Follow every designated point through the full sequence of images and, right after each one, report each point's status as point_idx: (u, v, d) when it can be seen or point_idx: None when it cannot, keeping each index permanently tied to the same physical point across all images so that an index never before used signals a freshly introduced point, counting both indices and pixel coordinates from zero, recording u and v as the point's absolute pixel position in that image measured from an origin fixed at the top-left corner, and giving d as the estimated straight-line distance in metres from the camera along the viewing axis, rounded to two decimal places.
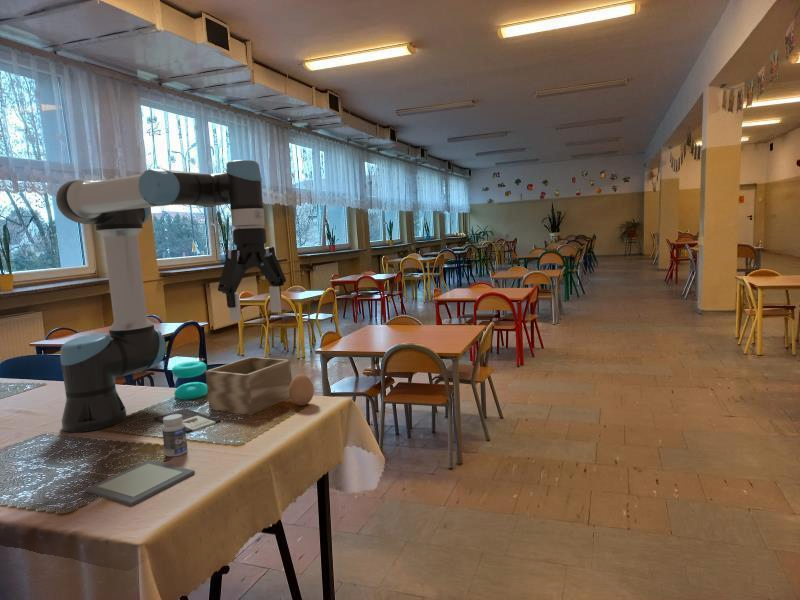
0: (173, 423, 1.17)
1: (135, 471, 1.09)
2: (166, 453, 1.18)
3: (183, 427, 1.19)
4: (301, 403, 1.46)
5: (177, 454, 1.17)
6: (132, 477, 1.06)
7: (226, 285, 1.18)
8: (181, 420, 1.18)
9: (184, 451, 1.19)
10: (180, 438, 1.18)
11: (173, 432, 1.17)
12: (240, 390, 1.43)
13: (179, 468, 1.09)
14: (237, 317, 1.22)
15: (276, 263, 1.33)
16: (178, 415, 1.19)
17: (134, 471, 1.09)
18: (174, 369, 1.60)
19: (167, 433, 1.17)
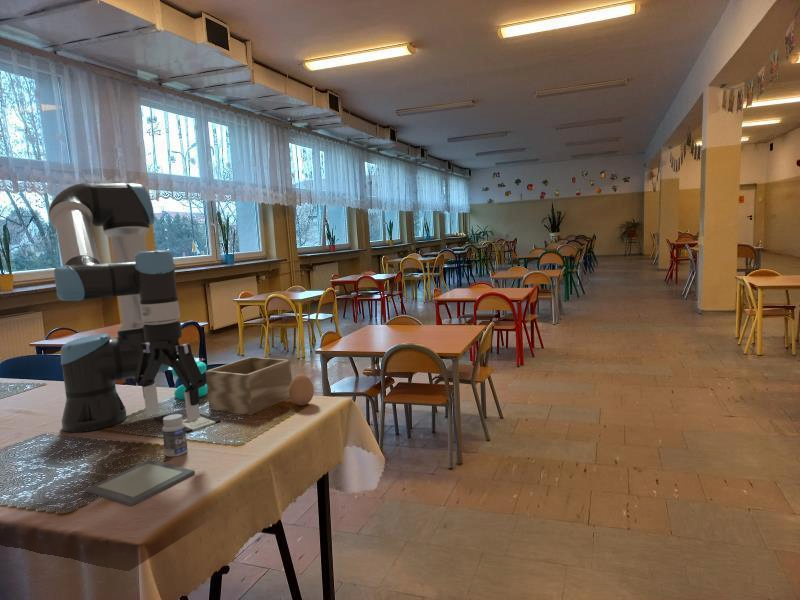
0: (173, 423, 1.17)
1: (135, 471, 1.09)
2: (166, 453, 1.18)
3: (183, 427, 1.19)
4: (301, 403, 1.46)
5: (177, 454, 1.17)
6: (132, 477, 1.06)
7: (135, 377, 1.21)
8: (181, 420, 1.18)
9: (184, 451, 1.19)
10: (180, 438, 1.18)
11: (173, 432, 1.17)
12: (240, 390, 1.43)
13: (179, 468, 1.09)
14: None
15: (184, 365, 1.12)
16: (178, 415, 1.19)
17: (134, 471, 1.09)
18: None
19: (167, 433, 1.17)
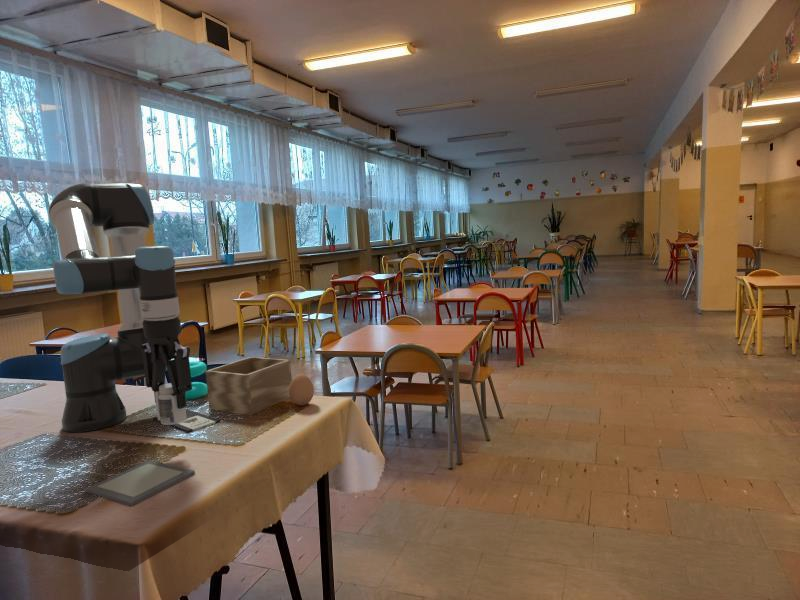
0: (169, 391, 1.16)
1: (135, 471, 1.09)
2: (162, 421, 1.17)
3: None
4: (301, 403, 1.46)
5: (173, 422, 1.17)
6: (132, 477, 1.06)
7: (146, 382, 1.20)
8: None
9: None
10: None
11: (169, 401, 1.16)
12: (240, 390, 1.43)
13: (179, 468, 1.09)
14: None
15: (178, 367, 1.14)
16: None
17: (134, 471, 1.09)
18: None
19: (163, 402, 1.16)
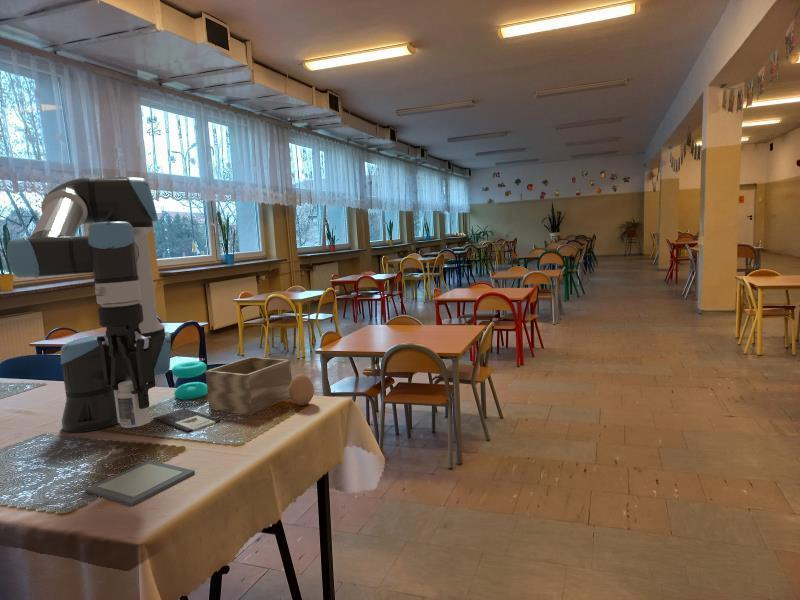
0: (129, 388, 1.01)
1: (135, 471, 1.09)
2: (122, 424, 1.02)
3: None
4: (301, 403, 1.46)
5: (134, 425, 1.02)
6: (132, 477, 1.06)
7: (104, 379, 1.05)
8: None
9: None
10: None
11: (130, 400, 1.01)
12: (240, 390, 1.43)
13: (179, 468, 1.09)
14: None
15: (138, 361, 0.99)
16: None
17: (134, 471, 1.09)
18: (174, 369, 1.60)
19: (122, 401, 1.01)
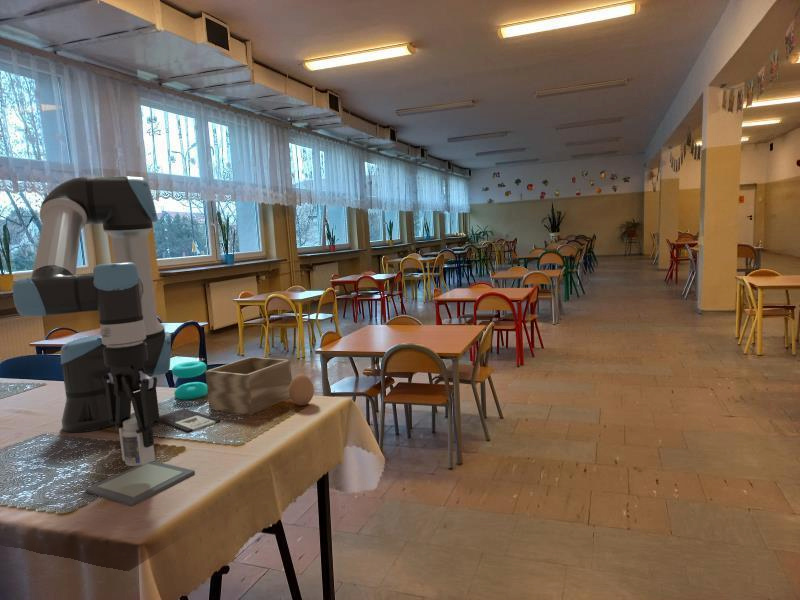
0: (134, 427, 1.02)
1: (135, 471, 1.09)
2: (126, 462, 1.03)
3: None
4: (301, 403, 1.46)
5: (139, 463, 1.03)
6: (132, 477, 1.06)
7: (109, 417, 1.06)
8: None
9: None
10: None
11: (135, 438, 1.02)
12: (240, 390, 1.43)
13: (179, 468, 1.09)
14: None
15: (143, 400, 1.00)
16: None
17: (134, 471, 1.09)
18: (174, 369, 1.60)
19: (127, 439, 1.02)
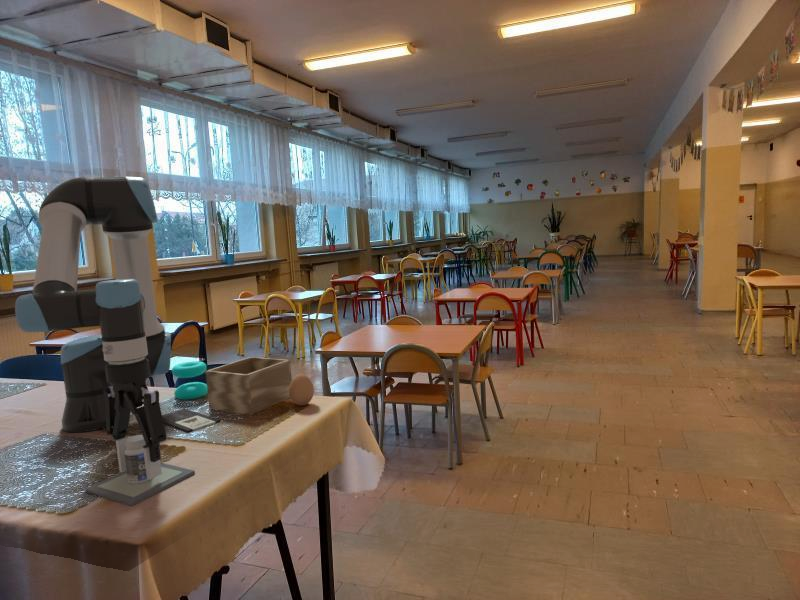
0: (136, 445, 1.03)
1: None
2: (129, 480, 1.03)
3: None
4: (301, 403, 1.46)
5: (141, 481, 1.03)
6: None
7: (107, 428, 1.07)
8: None
9: None
10: None
11: (137, 456, 1.03)
12: (240, 390, 1.43)
13: (179, 468, 1.09)
14: None
15: (147, 415, 1.00)
16: (142, 437, 1.05)
17: None
18: (174, 369, 1.60)
19: (129, 458, 1.02)
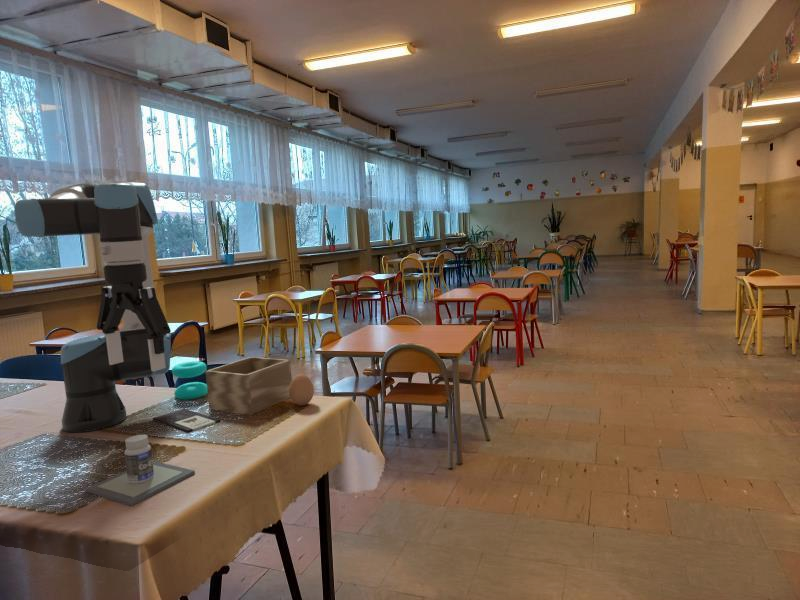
0: (136, 445, 1.03)
1: None
2: (129, 480, 1.03)
3: (148, 450, 1.04)
4: (301, 403, 1.46)
5: (141, 481, 1.03)
6: None
7: (97, 323, 1.12)
8: (146, 442, 1.04)
9: (149, 477, 1.04)
10: (145, 462, 1.04)
11: (137, 456, 1.03)
12: (240, 390, 1.43)
13: (179, 468, 1.09)
14: None
15: (147, 310, 1.03)
16: (143, 437, 1.05)
17: None
18: (174, 369, 1.60)
19: (129, 458, 1.02)
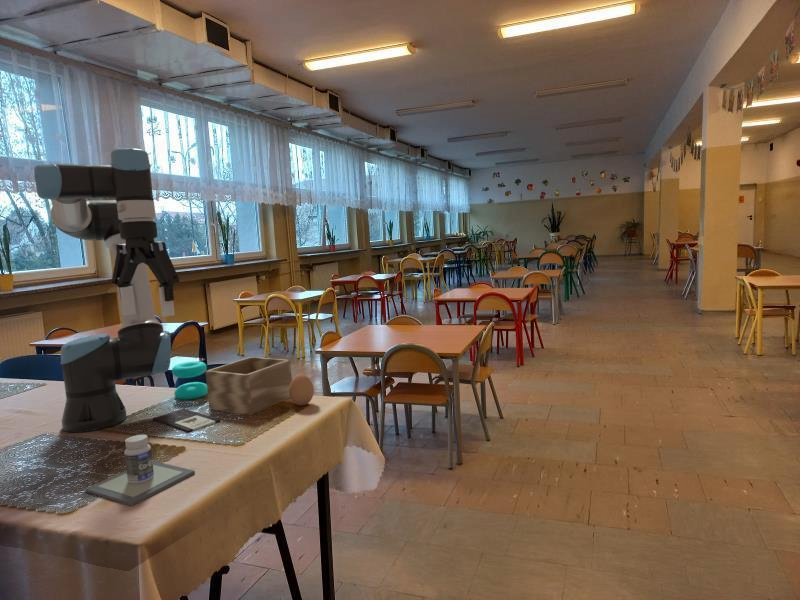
0: (136, 445, 1.03)
1: None
2: (129, 480, 1.03)
3: (148, 450, 1.04)
4: (301, 403, 1.46)
5: (141, 481, 1.03)
6: None
7: (112, 278, 1.24)
8: (146, 442, 1.04)
9: (149, 477, 1.04)
10: (145, 462, 1.04)
11: (137, 456, 1.03)
12: (240, 390, 1.43)
13: (179, 468, 1.09)
14: None
15: (158, 260, 1.15)
16: (142, 437, 1.05)
17: None
18: (174, 369, 1.60)
19: (129, 458, 1.02)
